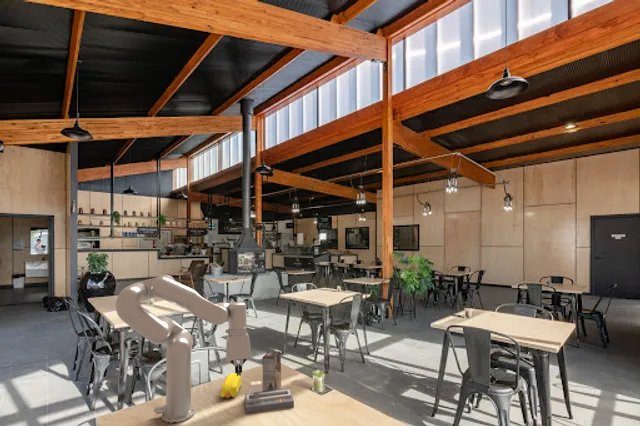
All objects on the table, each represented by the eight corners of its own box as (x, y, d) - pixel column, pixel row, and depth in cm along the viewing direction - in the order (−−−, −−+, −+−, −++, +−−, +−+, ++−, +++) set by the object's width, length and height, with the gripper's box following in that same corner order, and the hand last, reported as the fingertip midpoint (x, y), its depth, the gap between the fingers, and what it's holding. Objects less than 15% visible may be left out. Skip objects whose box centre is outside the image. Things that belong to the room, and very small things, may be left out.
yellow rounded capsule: (218, 401, 154) (236, 400, 155) (218, 385, 155) (236, 384, 155) (227, 383, 172) (242, 383, 173) (227, 370, 173) (242, 369, 173)
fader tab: (251, 400, 148) (251, 384, 149) (250, 397, 151) (250, 381, 152) (261, 399, 149) (261, 383, 150) (260, 395, 152) (260, 380, 153)
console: (246, 413, 143) (246, 404, 143) (245, 399, 155) (245, 391, 156) (293, 406, 148) (293, 398, 148) (289, 393, 160) (289, 385, 160)
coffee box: (269, 383, 171) (268, 350, 172) (281, 384, 170) (281, 351, 171) (262, 391, 162) (262, 356, 163) (275, 392, 161) (275, 357, 162)
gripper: (219, 335, 145) (220, 380, 144) (255, 331, 149) (256, 375, 147) (220, 330, 152) (221, 373, 151) (254, 327, 156) (255, 369, 155)
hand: (238, 374), depth 149 cm, fingers closed
